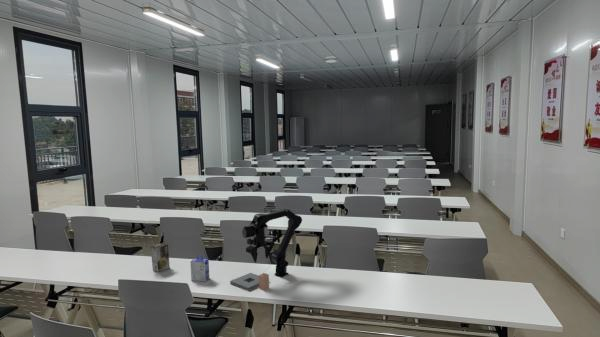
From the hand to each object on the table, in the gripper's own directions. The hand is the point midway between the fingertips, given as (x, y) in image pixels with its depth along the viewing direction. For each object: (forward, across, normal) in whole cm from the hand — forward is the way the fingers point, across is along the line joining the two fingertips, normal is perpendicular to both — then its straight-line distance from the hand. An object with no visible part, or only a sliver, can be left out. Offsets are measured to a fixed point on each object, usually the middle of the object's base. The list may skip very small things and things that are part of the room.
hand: (261, 260), depth 235 cm
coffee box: (+12, +29, -66) cm, 73 cm away
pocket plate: (+12, +8, -2) cm, 15 cm away
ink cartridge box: (+12, +23, -30) cm, 40 cm away
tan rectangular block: (+12, +8, +10) cm, 18 cm away
